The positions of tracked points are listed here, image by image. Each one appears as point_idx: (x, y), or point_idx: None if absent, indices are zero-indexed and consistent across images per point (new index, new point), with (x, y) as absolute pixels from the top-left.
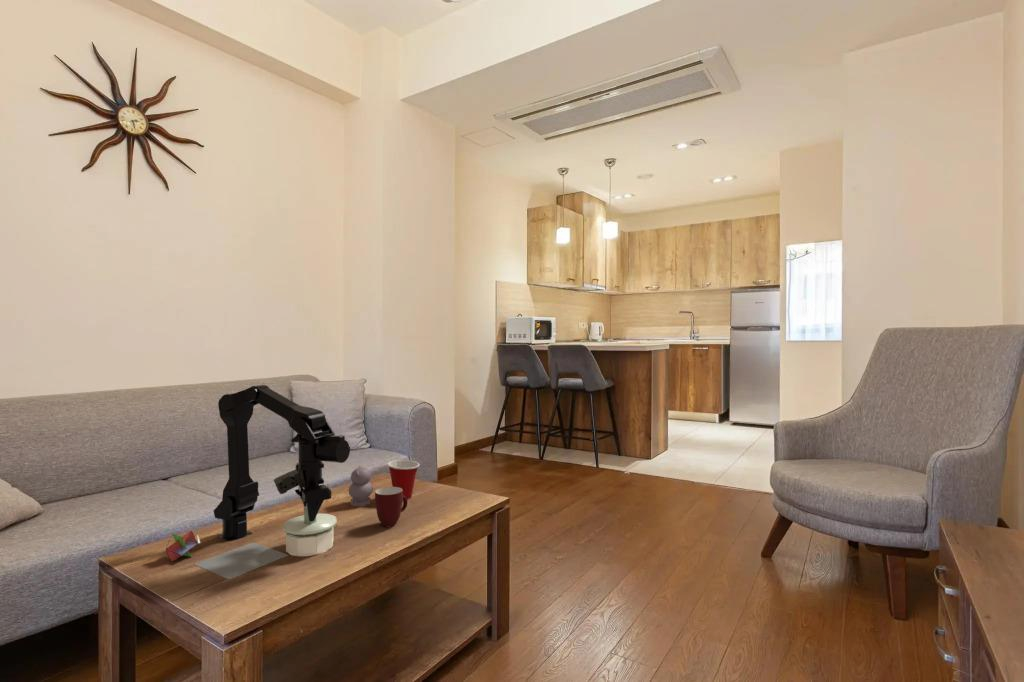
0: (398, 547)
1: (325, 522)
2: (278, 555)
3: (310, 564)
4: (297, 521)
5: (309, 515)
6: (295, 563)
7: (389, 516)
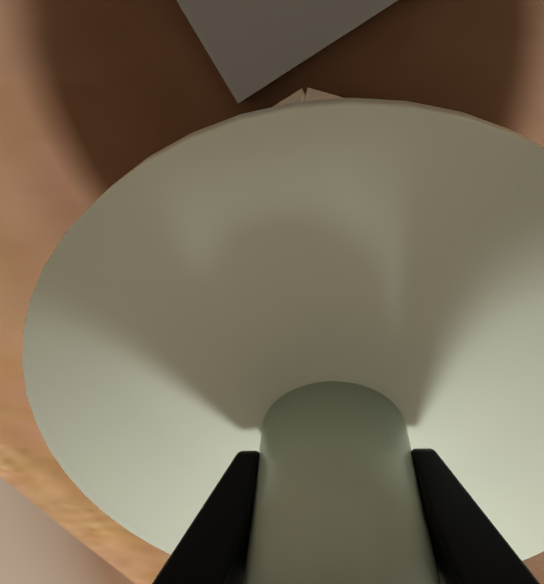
0: (136, 575)
1: None
2: (269, 5)
3: (40, 235)
4: (462, 327)
5: (192, 531)
6: (87, 140)
7: None
